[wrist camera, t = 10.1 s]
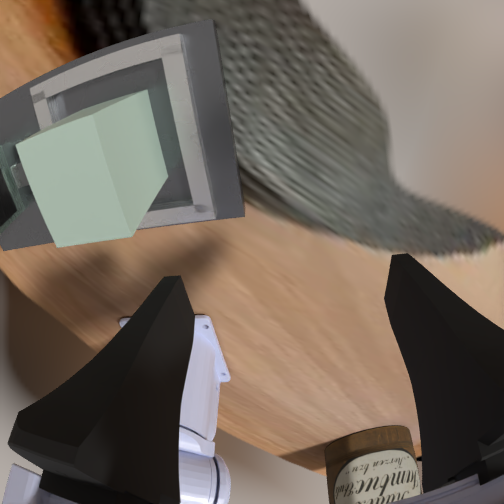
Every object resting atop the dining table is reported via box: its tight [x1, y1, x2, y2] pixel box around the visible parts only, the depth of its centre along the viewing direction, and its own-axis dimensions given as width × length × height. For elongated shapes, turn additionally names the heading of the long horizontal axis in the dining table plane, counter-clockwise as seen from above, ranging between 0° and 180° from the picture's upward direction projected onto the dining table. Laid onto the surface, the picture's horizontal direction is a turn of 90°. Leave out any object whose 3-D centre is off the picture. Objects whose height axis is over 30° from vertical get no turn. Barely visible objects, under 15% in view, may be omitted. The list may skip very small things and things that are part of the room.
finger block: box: [16, 90, 168, 248], centre depth 13 cm, size 4×5×6 cm
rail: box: [0, 19, 245, 251], centre depth 14 cm, size 20×11×7 cm, turn 98°
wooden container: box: [325, 426, 422, 504], centre depth 35 cm, size 15×15×22 cm
